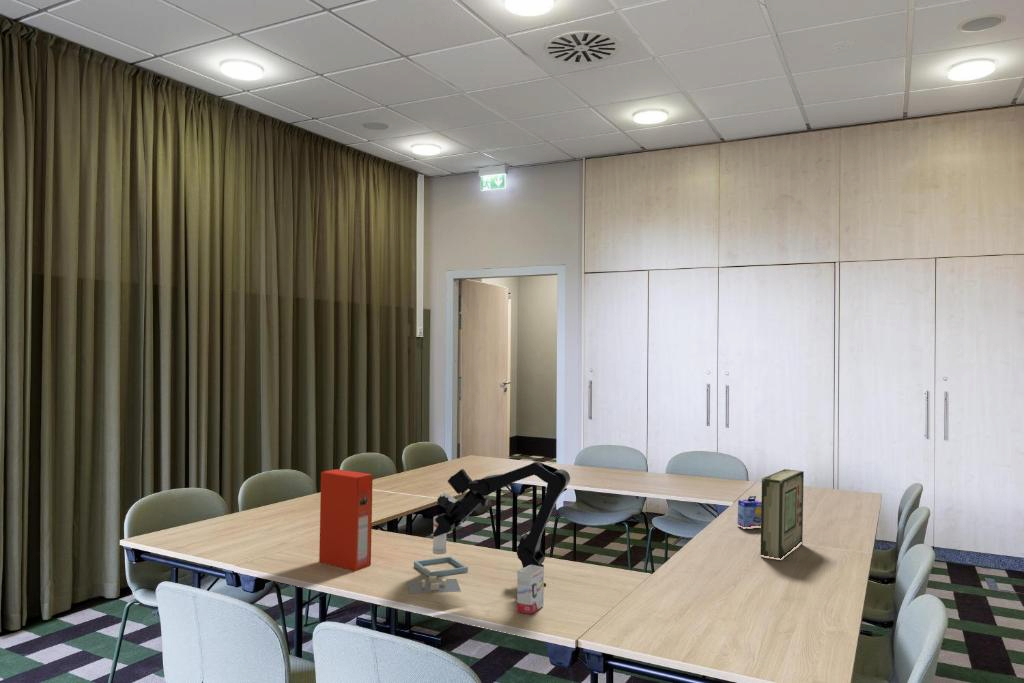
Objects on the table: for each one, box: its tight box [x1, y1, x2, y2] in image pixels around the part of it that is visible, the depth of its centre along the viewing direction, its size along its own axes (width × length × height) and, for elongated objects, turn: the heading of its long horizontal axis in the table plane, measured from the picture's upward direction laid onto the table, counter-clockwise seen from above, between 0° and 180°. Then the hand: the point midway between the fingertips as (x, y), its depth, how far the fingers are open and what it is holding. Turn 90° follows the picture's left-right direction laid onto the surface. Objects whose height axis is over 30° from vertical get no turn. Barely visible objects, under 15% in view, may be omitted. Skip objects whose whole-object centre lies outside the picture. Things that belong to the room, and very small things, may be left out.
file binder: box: [318, 468, 374, 572], centre depth 243 cm, size 8×17×32 cm, turn 59°
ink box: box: [516, 565, 545, 615], centre depth 205 cm, size 9×5×12 cm, turn 150°
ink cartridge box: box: [737, 495, 762, 527], centre depth 309 cm, size 10×6×14 cm, turn 107°
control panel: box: [760, 468, 805, 559], centre depth 274 cm, size 30×8×30 cm, turn 143°
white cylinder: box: [432, 515, 447, 555], centre depth 236 cm, size 5×5×12 cm
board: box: [406, 576, 462, 595], centre depth 220 cm, size 16×12×3 cm
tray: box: [413, 555, 469, 578], centre depth 237 cm, size 14×14×2 cm
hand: (436, 534), depth 237 cm, fingers closed on white cylinder, 4 cm apart
